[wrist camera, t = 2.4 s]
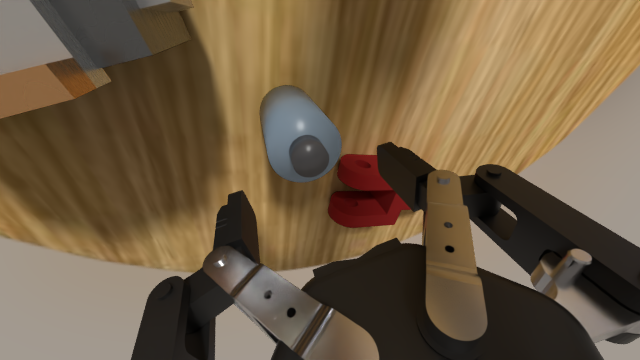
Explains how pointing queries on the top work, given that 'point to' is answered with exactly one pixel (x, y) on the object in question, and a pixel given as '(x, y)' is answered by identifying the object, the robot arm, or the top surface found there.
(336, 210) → the mechanical linkage
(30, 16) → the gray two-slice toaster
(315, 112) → the blue-gray bottle
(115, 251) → the top surface
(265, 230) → the top surface
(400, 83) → the top surface
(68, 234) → the top surface
